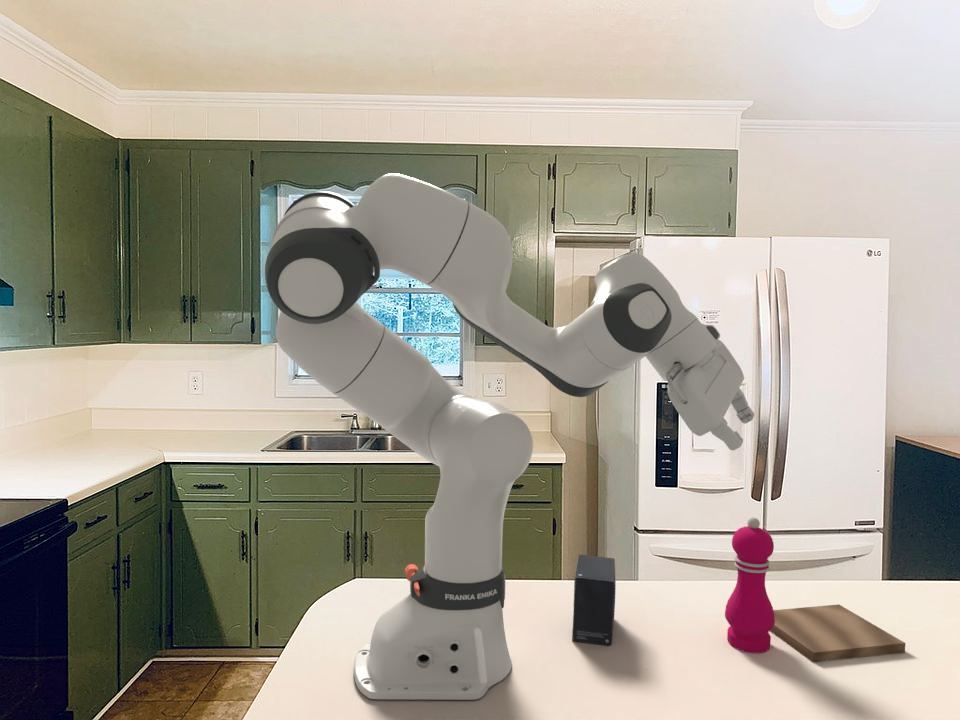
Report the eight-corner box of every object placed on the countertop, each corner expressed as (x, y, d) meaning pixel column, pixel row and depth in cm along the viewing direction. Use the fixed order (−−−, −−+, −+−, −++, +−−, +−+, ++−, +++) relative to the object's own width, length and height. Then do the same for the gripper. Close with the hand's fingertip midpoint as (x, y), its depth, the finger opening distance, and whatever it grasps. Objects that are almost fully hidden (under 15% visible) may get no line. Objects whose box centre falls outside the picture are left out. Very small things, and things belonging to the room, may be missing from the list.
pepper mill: (775, 658, 102) (781, 527, 100) (724, 650, 104) (729, 521, 102) (771, 637, 108) (777, 513, 107) (723, 629, 111) (728, 508, 109)
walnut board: (812, 662, 101) (813, 652, 100) (755, 620, 114) (756, 611, 114) (904, 652, 104) (905, 643, 104) (838, 612, 118) (838, 604, 117)
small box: (614, 647, 104) (615, 580, 104) (571, 642, 106) (572, 576, 105) (614, 617, 115) (616, 556, 114) (575, 613, 116) (577, 553, 115)
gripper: (683, 364, 85) (751, 453, 84) (716, 322, 102) (774, 396, 101) (644, 389, 89) (709, 475, 88) (682, 344, 106) (737, 416, 105)
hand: (744, 432), depth 95 cm, fingers open, 8 cm apart
